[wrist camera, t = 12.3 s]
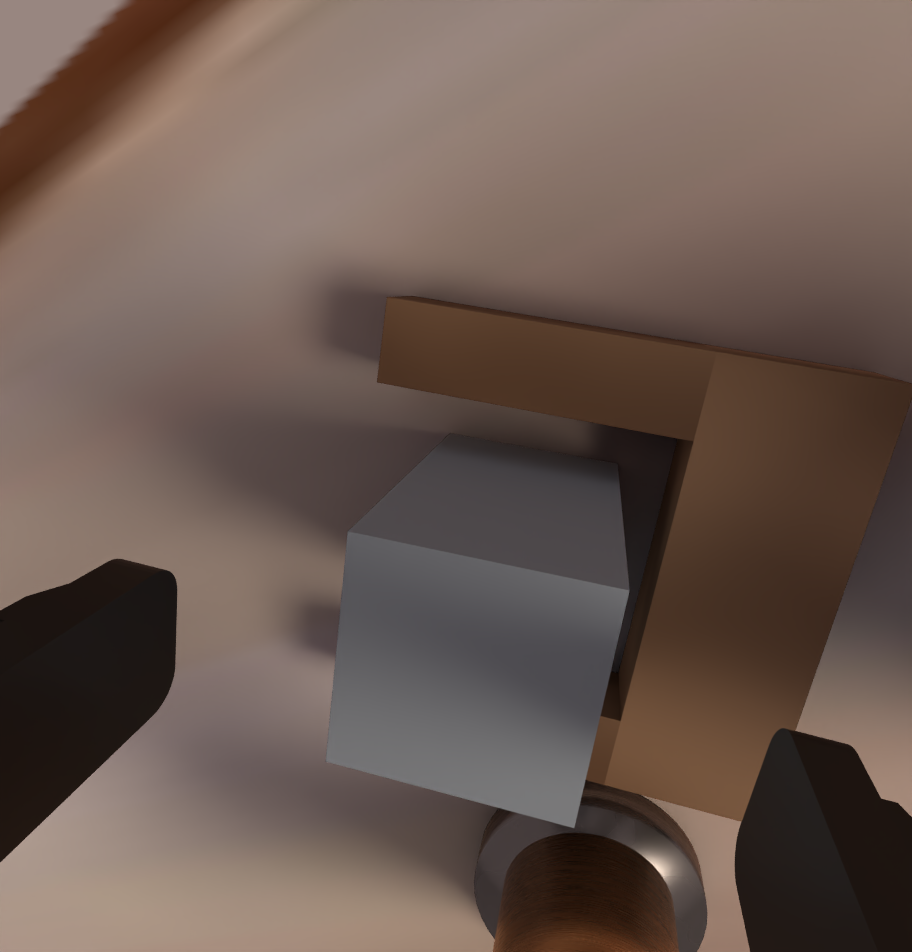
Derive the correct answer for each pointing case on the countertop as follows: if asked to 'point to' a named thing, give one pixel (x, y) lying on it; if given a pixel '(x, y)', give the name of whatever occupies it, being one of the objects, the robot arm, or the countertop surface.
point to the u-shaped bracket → (693, 521)
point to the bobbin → (591, 879)
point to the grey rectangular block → (482, 626)
